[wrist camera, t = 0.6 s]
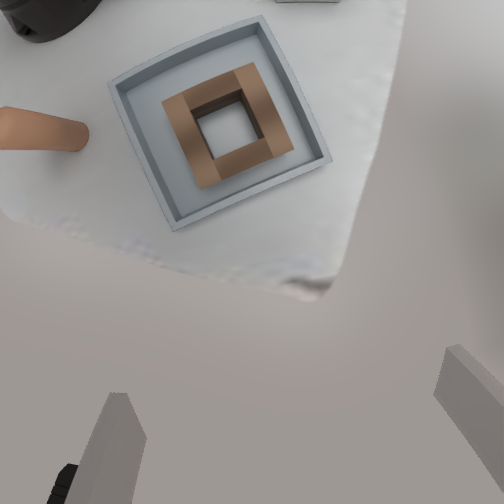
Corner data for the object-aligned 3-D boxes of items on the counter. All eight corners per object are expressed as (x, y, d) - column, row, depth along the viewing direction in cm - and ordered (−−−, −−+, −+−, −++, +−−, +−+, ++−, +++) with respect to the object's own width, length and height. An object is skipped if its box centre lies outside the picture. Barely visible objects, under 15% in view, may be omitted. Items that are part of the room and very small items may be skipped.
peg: (60, 132, 30) (-16, 123, 17) (83, 116, 30) (10, 97, 16) (70, 156, 31) (-7, 158, 18) (92, 141, 31) (20, 133, 17)
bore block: (172, 111, 30) (160, 101, 25) (250, 77, 30) (253, 61, 24) (206, 186, 32) (201, 190, 27) (285, 152, 32) (294, 149, 27)
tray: (119, 91, 30) (106, 83, 26) (259, 29, 29) (262, 14, 25) (179, 224, 34) (172, 231, 30) (322, 161, 33) (333, 161, 29)
